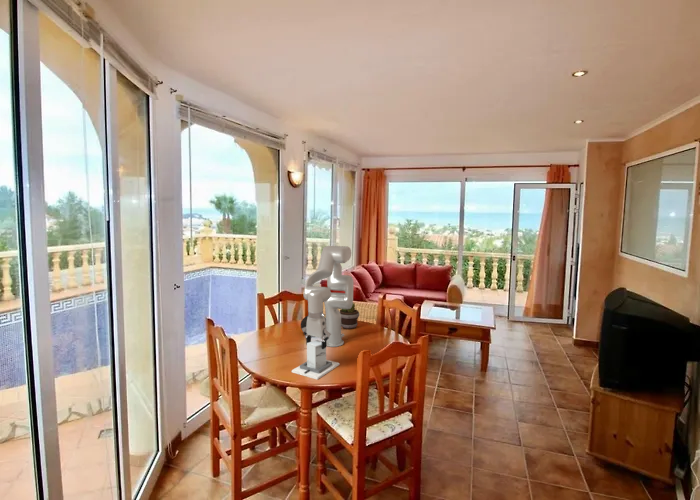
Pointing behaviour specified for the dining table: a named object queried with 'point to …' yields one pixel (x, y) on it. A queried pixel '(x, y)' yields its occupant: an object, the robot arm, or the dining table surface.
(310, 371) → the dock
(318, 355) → the supplement box
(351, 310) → the flowerpot
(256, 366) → the dining table surface
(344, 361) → the dining table surface
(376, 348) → the dining table surface
